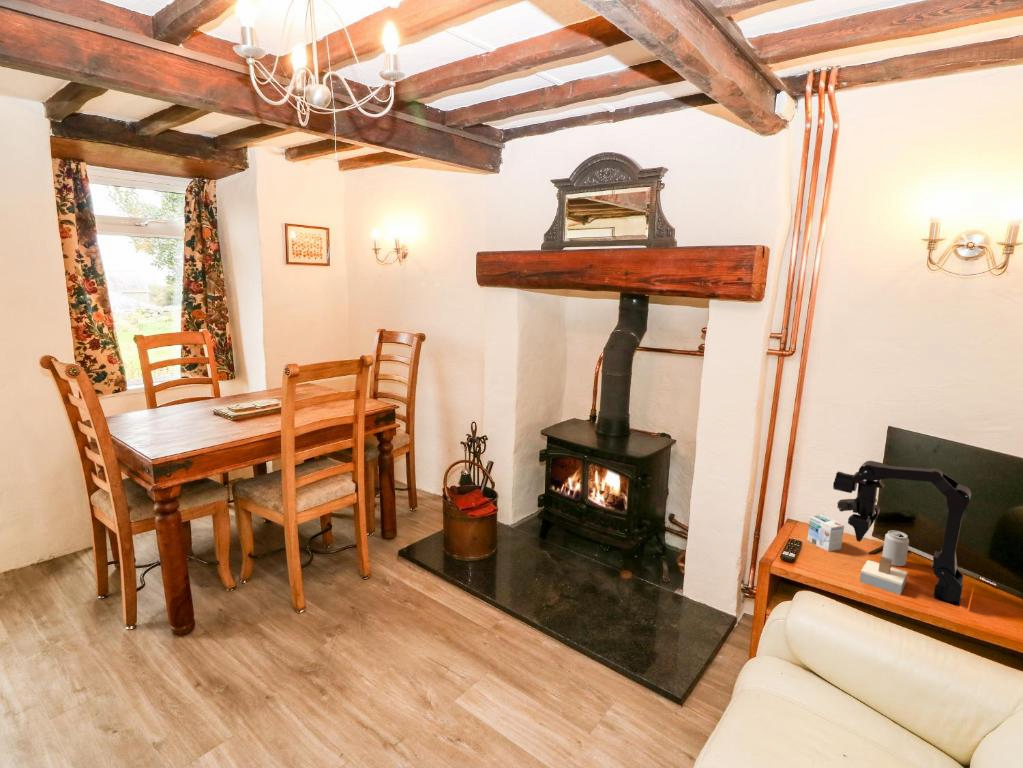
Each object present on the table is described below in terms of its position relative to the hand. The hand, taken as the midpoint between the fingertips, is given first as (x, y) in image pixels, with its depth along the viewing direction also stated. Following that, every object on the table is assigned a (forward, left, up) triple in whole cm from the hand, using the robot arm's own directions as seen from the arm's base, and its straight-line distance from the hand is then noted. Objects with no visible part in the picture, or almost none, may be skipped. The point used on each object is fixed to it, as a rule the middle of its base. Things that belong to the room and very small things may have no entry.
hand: (861, 536), depth 200 cm
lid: (-8, +3, -10) cm, 13 cm away
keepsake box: (-8, +3, -14) cm, 17 cm away
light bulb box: (+15, -13, -14) cm, 24 cm away
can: (-8, -16, -14) cm, 23 cm away
